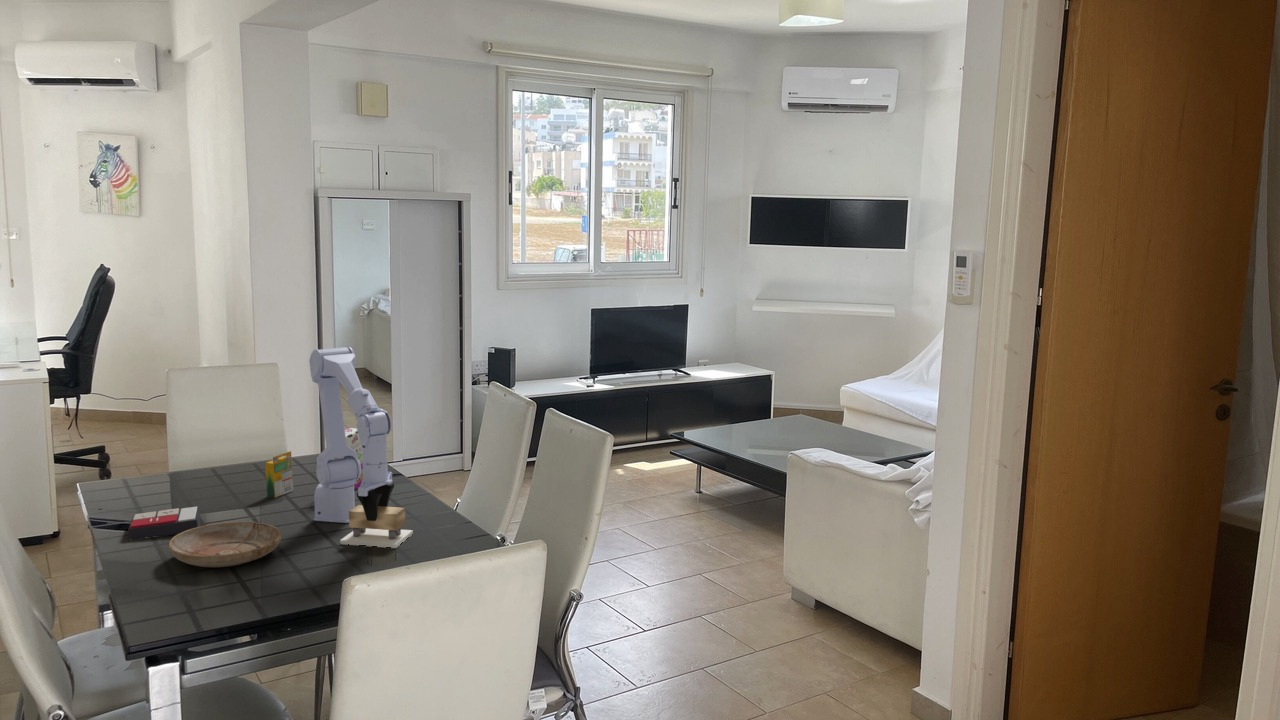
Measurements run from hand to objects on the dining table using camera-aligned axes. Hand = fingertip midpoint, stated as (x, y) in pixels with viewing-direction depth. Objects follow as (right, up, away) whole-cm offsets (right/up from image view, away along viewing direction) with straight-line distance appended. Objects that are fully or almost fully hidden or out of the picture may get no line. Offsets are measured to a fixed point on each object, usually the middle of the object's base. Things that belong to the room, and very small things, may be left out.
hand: (376, 516), depth 227 cm
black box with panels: (-54, -5, +6) cm, 54 cm away
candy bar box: (-20, +1, +42) cm, 46 cm away
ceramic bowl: (-31, -8, -12) cm, 34 cm away
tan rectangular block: (0, -2, 0) cm, 2 cm away
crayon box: (-37, 0, +36) cm, 51 cm away
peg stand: (0, -6, +1) cm, 6 cm away
